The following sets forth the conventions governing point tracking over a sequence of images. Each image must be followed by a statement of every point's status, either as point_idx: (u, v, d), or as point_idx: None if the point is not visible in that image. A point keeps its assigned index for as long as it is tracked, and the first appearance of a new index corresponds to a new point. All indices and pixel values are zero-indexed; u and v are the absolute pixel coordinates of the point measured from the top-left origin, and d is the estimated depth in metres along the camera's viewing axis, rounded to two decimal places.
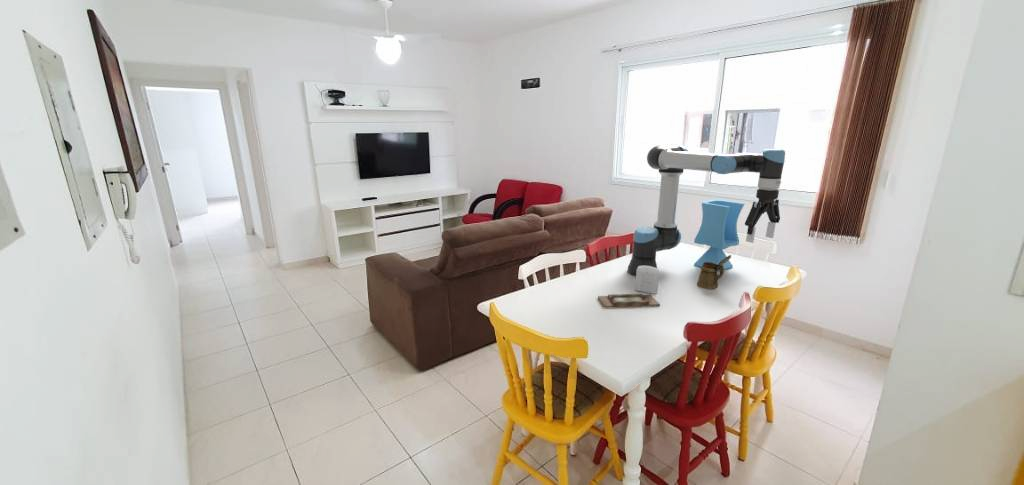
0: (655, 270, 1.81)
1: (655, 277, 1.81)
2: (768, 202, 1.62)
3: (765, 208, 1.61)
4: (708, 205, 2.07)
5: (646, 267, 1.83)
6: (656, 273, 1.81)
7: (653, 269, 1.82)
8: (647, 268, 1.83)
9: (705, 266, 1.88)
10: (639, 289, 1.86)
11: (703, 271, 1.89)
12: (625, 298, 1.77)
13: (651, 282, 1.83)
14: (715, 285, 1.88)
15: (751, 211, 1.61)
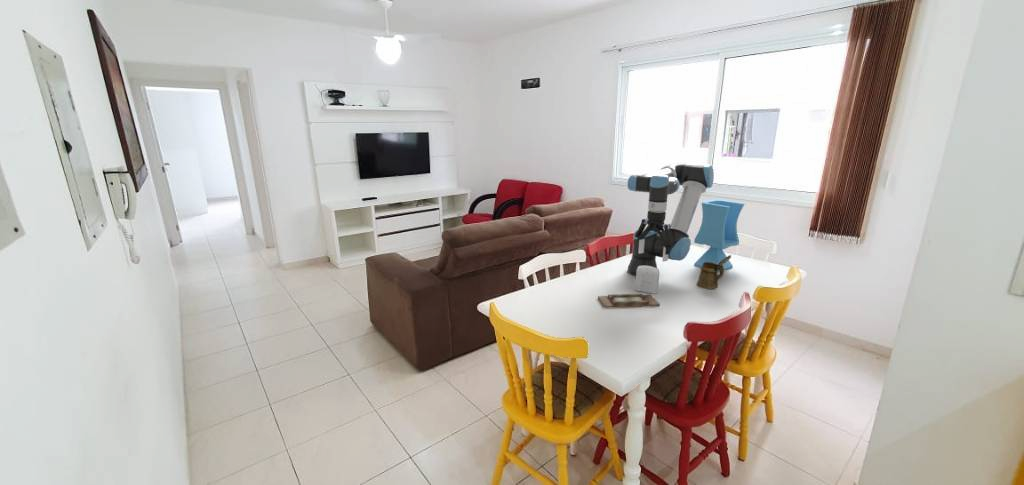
0: (655, 270, 1.81)
1: (655, 277, 1.81)
2: (653, 223, 1.77)
3: (647, 226, 1.80)
4: (708, 205, 2.07)
5: (646, 267, 1.83)
6: (656, 273, 1.81)
7: (653, 269, 1.82)
8: (647, 268, 1.83)
9: (705, 266, 1.88)
10: (639, 289, 1.86)
11: (703, 271, 1.89)
12: (625, 298, 1.77)
13: (651, 282, 1.83)
14: (715, 285, 1.88)
15: None
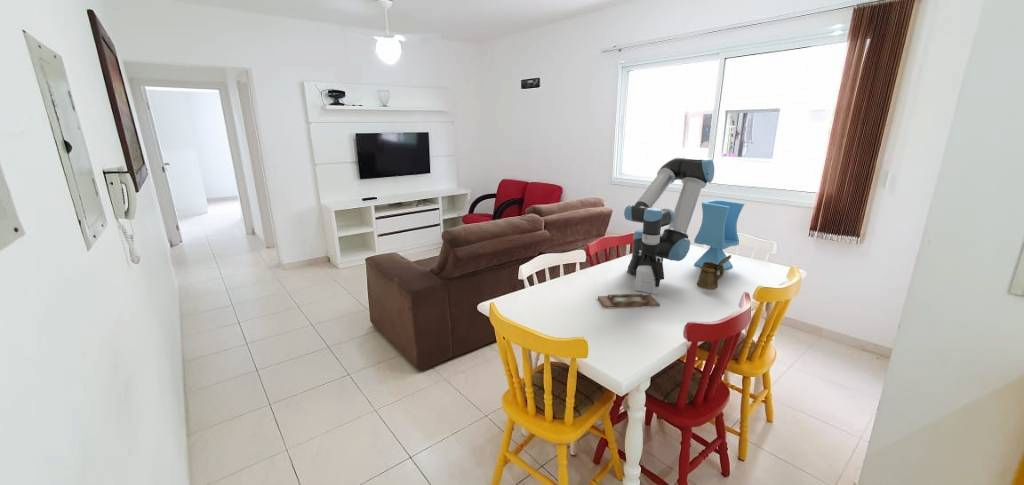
0: None
1: None
2: (647, 254, 1.82)
3: (642, 258, 1.84)
4: (708, 205, 2.07)
5: (646, 267, 1.83)
6: None
7: None
8: (647, 268, 1.83)
9: (705, 266, 1.88)
10: (639, 289, 1.86)
11: (703, 271, 1.89)
12: (625, 298, 1.77)
13: (651, 281, 1.83)
14: (715, 285, 1.88)
15: None
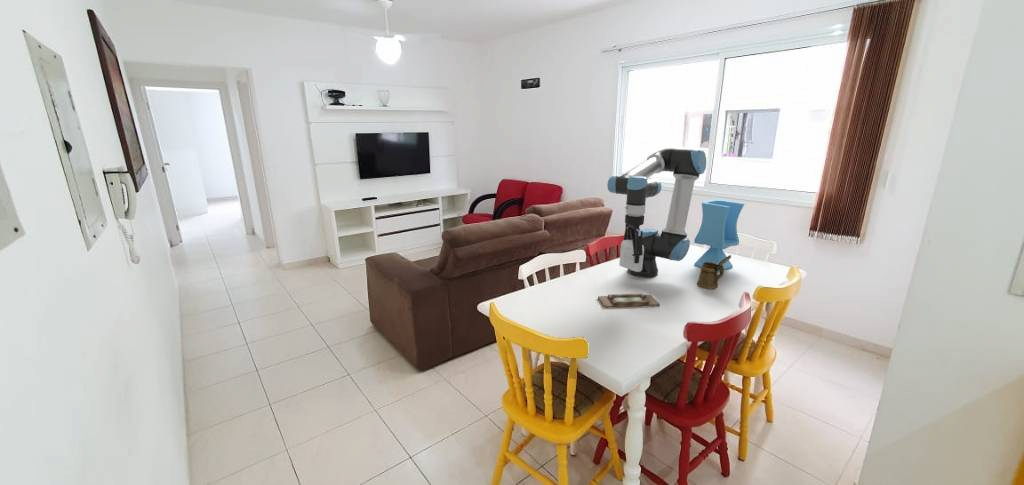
0: None
1: None
2: (631, 227, 1.67)
3: (627, 231, 1.69)
4: (708, 205, 2.07)
5: (629, 241, 1.68)
6: None
7: None
8: (630, 242, 1.67)
9: (705, 266, 1.88)
10: (622, 264, 1.72)
11: (703, 271, 1.89)
12: (625, 298, 1.77)
13: None
14: (715, 285, 1.88)
15: None
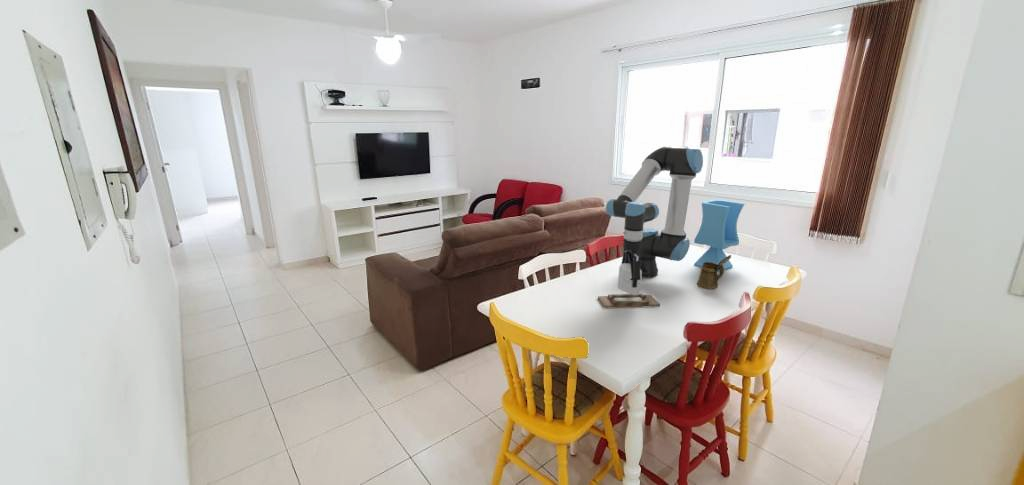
0: None
1: None
2: (629, 251, 1.69)
3: (625, 255, 1.72)
4: (708, 205, 2.07)
5: (627, 265, 1.71)
6: None
7: None
8: (628, 266, 1.70)
9: (705, 266, 1.88)
10: (620, 287, 1.75)
11: (703, 271, 1.89)
12: (625, 298, 1.77)
13: None
14: (715, 285, 1.88)
15: None
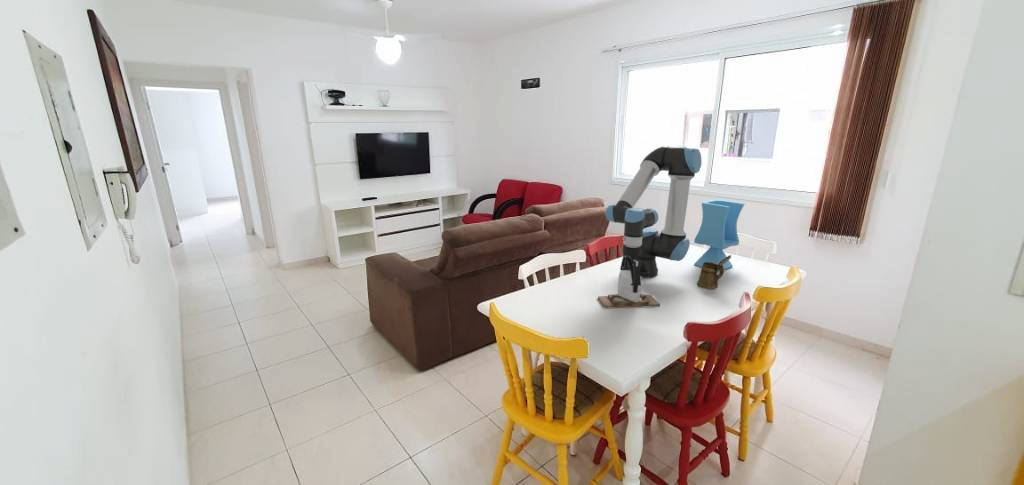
0: None
1: None
2: (628, 257, 1.70)
3: (625, 260, 1.73)
4: (708, 205, 2.07)
5: (627, 272, 1.72)
6: None
7: None
8: (627, 273, 1.71)
9: (705, 266, 1.88)
10: (620, 294, 1.76)
11: (703, 271, 1.89)
12: (625, 298, 1.77)
13: (630, 288, 1.70)
14: (715, 285, 1.88)
15: None
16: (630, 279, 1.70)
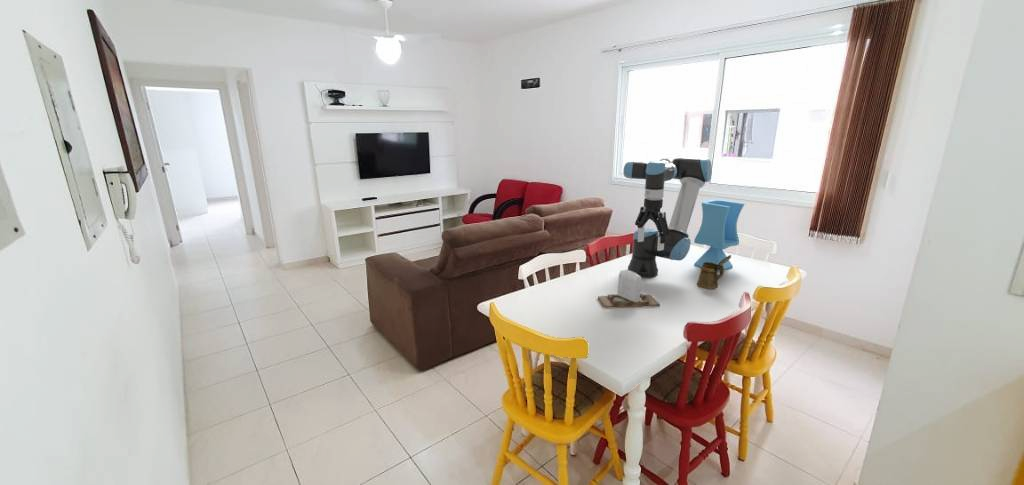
0: (635, 276, 1.68)
1: (634, 284, 1.69)
2: (650, 210, 1.73)
3: (645, 214, 1.75)
4: (708, 205, 2.07)
5: (627, 272, 1.72)
6: (635, 280, 1.68)
7: (633, 275, 1.69)
8: (627, 273, 1.71)
9: (705, 266, 1.88)
10: (620, 294, 1.76)
11: (703, 271, 1.89)
12: (625, 298, 1.77)
13: (630, 288, 1.70)
14: (715, 285, 1.88)
15: None
16: (630, 279, 1.70)
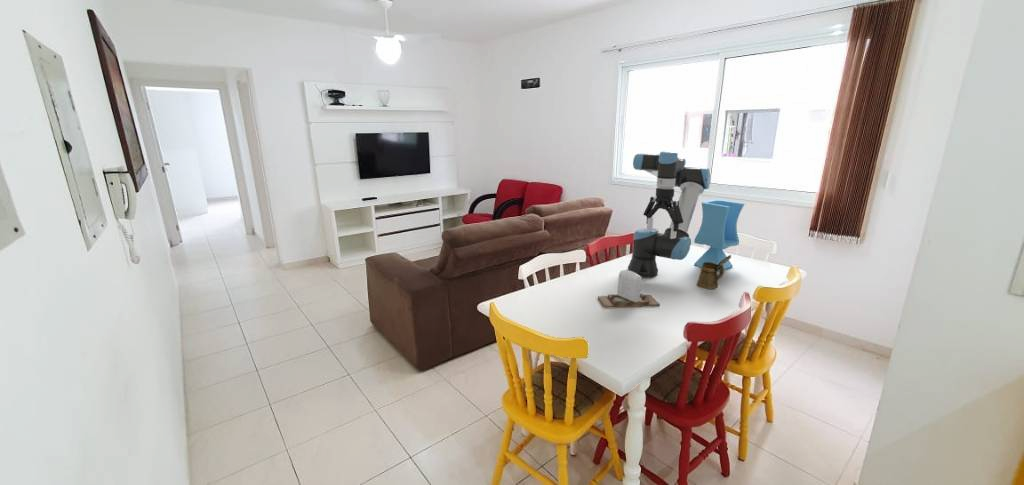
0: (635, 276, 1.68)
1: (634, 284, 1.69)
2: (662, 200, 1.76)
3: (656, 204, 1.79)
4: (708, 205, 2.07)
5: (627, 272, 1.72)
6: (635, 280, 1.68)
7: (633, 275, 1.69)
8: (627, 273, 1.71)
9: (705, 266, 1.88)
10: (620, 294, 1.76)
11: (703, 271, 1.89)
12: (625, 298, 1.77)
13: (630, 288, 1.70)
14: (715, 285, 1.88)
15: None
16: (630, 279, 1.70)
